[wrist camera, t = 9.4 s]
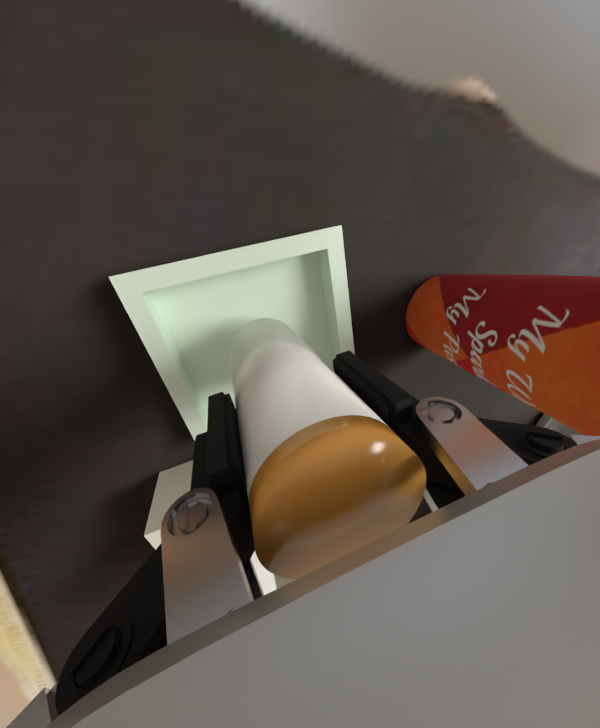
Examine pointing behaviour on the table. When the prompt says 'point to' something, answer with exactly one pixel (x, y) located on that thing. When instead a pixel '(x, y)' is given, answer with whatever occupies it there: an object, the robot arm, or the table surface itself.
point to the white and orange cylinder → (313, 455)
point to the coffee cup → (519, 337)
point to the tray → (236, 309)
